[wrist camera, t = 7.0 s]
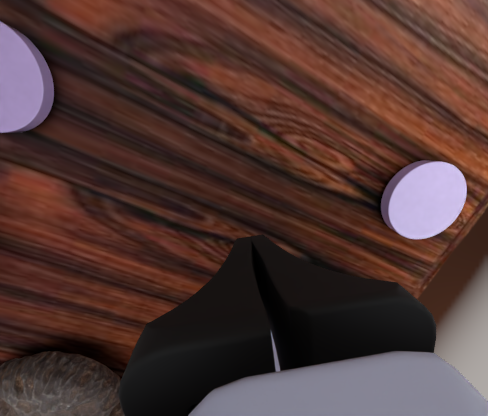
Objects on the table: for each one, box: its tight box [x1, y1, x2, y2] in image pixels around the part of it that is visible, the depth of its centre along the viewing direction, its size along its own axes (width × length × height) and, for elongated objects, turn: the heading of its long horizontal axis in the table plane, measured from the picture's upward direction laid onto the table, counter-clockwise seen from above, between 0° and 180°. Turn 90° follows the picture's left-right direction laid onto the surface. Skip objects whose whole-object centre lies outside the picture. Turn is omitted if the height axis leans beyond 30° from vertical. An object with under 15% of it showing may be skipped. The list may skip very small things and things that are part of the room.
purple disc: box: [381, 160, 467, 239], centre depth 19 cm, size 6×6×1 cm
